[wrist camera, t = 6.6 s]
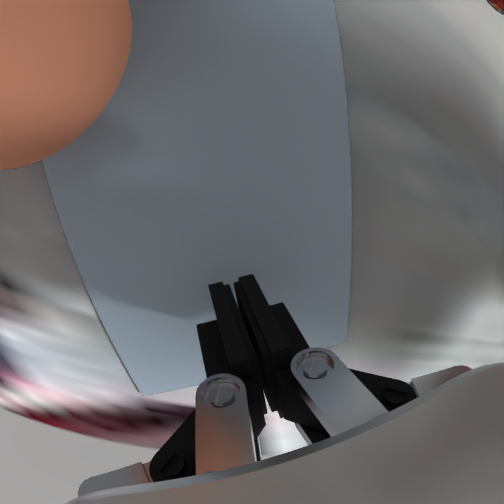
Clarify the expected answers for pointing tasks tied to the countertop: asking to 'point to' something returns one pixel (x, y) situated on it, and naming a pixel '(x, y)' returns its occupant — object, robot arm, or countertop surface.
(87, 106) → the ball
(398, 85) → the countertop surface
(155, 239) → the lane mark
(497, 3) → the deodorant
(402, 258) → the countertop surface
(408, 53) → the countertop surface
